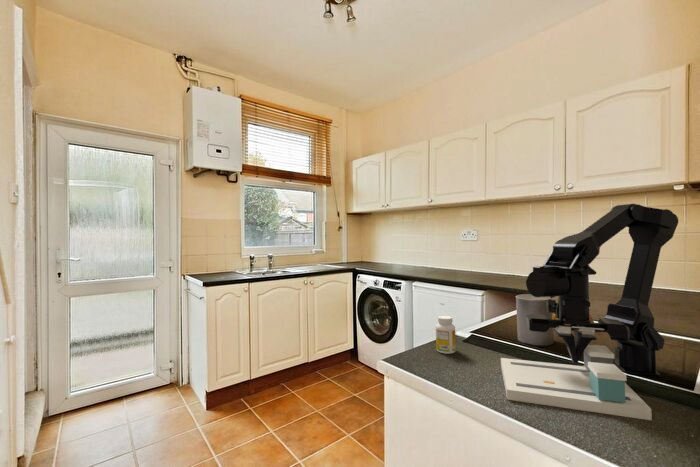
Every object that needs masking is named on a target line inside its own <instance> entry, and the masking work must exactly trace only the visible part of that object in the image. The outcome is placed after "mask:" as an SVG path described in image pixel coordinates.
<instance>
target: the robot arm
mask: <svg viewBox="0 0 700 467" xmlns="http://www.w3.org/2000/svg"><path fill="white" fill-rule="evenodd" d="M678 225H679V217H678V216H677V214H675V213H673V211H672V210H671V209H667V208H663V209H662V208H658V207H657V208H656V207H649V206H644V205H640V204H637V203H626V204H617V205H615V206H613V207H611V210H610V211H609V212H607V213H606V214H604V215H603V216H601V217H600V218H599V219H598V220H596V221H594V222H593V223H592V224H590V225H589V226H588V227H587V228H585V229H583V230H582V231H581V232H578V233H575V234H571V235H568V236H566V237H563V238H561V239H559V240H556V241H555V243H554V244H553V245H552V249H551V251H550V252H549V255H548V256H547V257H546V260H544V263H543V265H542V266H541V265H540V266H539V265H534V266H532V272H530V273H529V274H528V276H527V277H526V279H525V284H526V289H527V291H528V292H529V293H528V294H531V295H532V296H534V297H558V299H557V300H558V301H557V300H556V299H551V300H546V312H547V313H553V314H555V318H559V320H552V319H548V318H547V317H546V316H545V315H538V314H528V315H527V317H526V325H527V327H528V328H529V330H530V331H537V332H546V331H548V330H549V328H553V332H554V333H555V334H556V335H557V336H558V337H560V338H561V339H563V342H564V344H565V345H566V349H567V351H568V353H569V356H570V359H571V361H572V364H573V365H578V362H579V361H580V358H582V355H583V354H584V350H585V348H586V347H587V346H588V344H589V345H590V344H591V342H592V341H597V336H595V333H596V332H601V333H602V332H603V333H607V334H608V335H609V336H608V337H609V338H610V340H612V341H616V346H615V347H614V359H615V360H614V362H615V365H616V366H617V367H618V368H619V369H620V370H621V371H622V372H623V373H626V374H634V375H643V376H654V377H661V375H660V374H661V373H659V372H658V371H657V361H656V357H657V356H656V351H657V352H659V351H661V350H662V349H664V346H665V340H666V339H665V338H664V337H663V336H662V335H661V334H660V333H659V331H657V329H656V328H655V327H654V326H655V318H654V315H653V313H652V311H651V309H650V307H649V303H650V299H651V293H652V289H653V285H654V279H655V276H656V271H657V267H658V262H659V258H660V253H661V249H662V248H663V247H664V246H665V245H666V244H667V243H668V242H669V241H670V240H672V239H673V237H674V235H675V232H676V229H677V227H678ZM626 228H628V234H629V236H630V238H631V240H632V242H633V245H632V246H633V247H632V250H631V255H630V260H629V263H628V268H627V272H626V276H625V280H624V285H623V287H622V288H623V290H622V294H621V298H620V299H619V300H618V301H617V302H615V303H611V302H610V303H608V305H607V310H606V315H605V316H604V318H599V319H598V321H597V322H595V321H594V322H591V321H590V320H589V315H590V308H591V302H590V288H589V287H590V285H589V284H590V281H589V279H590V278H589V277H590V276H591V275H593V276H595V275H597V271H596V269H594V268H592V267H590V264H591V263H593V261H594V260H595V259H596V258H597V257H599V254H600V253H601V252H600V250H601V247H602V246H603V245H604V244H605V243H607V242H608V241H609V240H610V239H612V238H614V237H615V236H616V235H617V234H619V233H620V232H621V231H623V230H624V229H626ZM556 301H557V302H556ZM564 324H567V325H564ZM568 324H569V325H568ZM573 329H574V330H573ZM572 330H573V333H572Z"/></svg>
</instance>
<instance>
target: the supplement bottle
mask: <svg viewBox="0 0 700 467" xmlns="http://www.w3.org/2000/svg"><path fill="white" fill-rule="evenodd" d="M437 322H438V323H437V324H436V326H435V339H436V340H435V341H436V343H435V345H436V348H435V349H436V351H437V352H439V353H441V354H445V355H448V354H455V352H456V350H457V348H456V347H457V346H456V345H457V344H456V342H457V341H456V327H455V326H456V325H454V324H453V317H452V316H449V315H439V316H438V317H437Z"/></svg>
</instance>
